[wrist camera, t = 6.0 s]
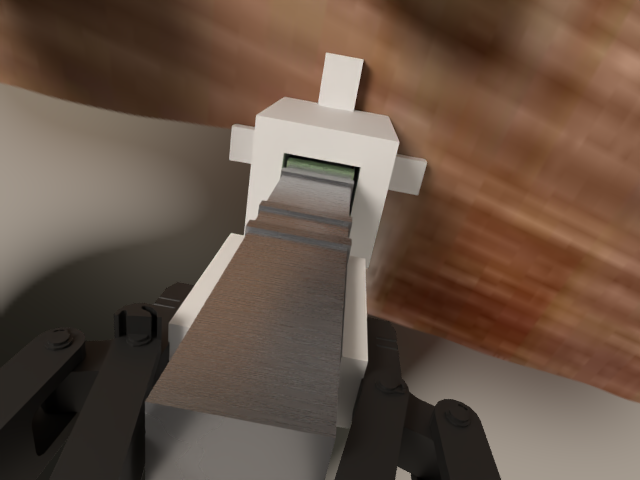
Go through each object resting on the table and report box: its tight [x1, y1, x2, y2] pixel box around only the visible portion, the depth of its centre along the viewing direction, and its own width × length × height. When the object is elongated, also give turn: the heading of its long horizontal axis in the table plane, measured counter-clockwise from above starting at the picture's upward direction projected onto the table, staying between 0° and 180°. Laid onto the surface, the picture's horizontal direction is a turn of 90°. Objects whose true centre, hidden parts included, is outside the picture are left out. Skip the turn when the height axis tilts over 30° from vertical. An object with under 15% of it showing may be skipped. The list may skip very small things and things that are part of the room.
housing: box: [229, 53, 427, 268], centre depth 33 cm, size 17×17×11 cm
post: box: [145, 155, 355, 480], centre depth 21 cm, size 4×4×24 cm
